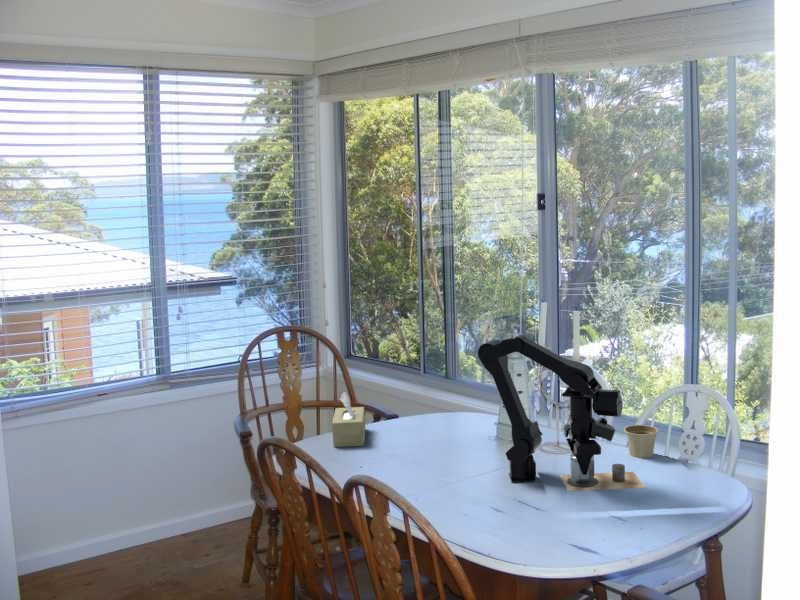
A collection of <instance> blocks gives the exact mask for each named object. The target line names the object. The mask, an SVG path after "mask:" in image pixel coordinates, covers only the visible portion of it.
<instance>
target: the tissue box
mask: <svg viewBox="0 0 800 600" xmlns="http://www.w3.org/2000/svg"><path fill="white" fill-rule="evenodd" d="M339 401H341V403H342V404H343V406H344V407H336V408H335V410H334V414H333V418H332V423H331V426H332V427H331V428H332V441H333V442H332V444H333V448H341V447H343V448H344V447H345V448H346V447H360V446H361V447H362V446H365V437H366V418H365V417H366V416H365V415H366V414H365V413H366V412H365V407H364V406H355V407H354V406H352V405H351V399H350V397H349V395H348V393H347V392H346V391H343V392H342V394H341V395H340V398H339Z"/></svg>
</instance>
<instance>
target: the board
mask: <svg viewBox="0 0 800 600" xmlns="http://www.w3.org/2000/svg"><path fill="white" fill-rule="evenodd" d="M611 466H612V467H611V470H612V471H611V472H597V473H595V472H594V477H592V478H590V479H577V478H573V477H572V476H571V474H559V477H560V478H561V481H562V482H563V484H564V486H565V488H566V489H567V492H577V491H579V492H580V491H600V490H602V491H603V490H604V491H605V490H622V489H623V490H624V489H643V488H644V489H645V488H646V486H645V484H644V483H643V482H642V481H641V479H640V478H639V477H638V475H636V473H635V472H634V471H626V469H625V467H626V466H625V464H621V463H613V464H612V465H611Z"/></svg>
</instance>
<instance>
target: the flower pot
mask: <svg viewBox="0 0 800 600" xmlns="http://www.w3.org/2000/svg"><path fill="white" fill-rule="evenodd" d="M623 431H624V432H625V435H626V436H625V437H626V438H627V444H628V451H629V456H631V457H633V458H638V459H648V458H652V457H653V456H654V455H653V454H654V448H655V442H656V438H657V434H658V433H659V429H658V428H657V427H655V426H651V425H646V424H645V425H644V424H634V425H633V424H632V425H627V426H625V427H624V429H623Z"/></svg>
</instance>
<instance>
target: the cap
mask: <svg viewBox="0 0 800 600" xmlns="http://www.w3.org/2000/svg"><path fill="white" fill-rule="evenodd" d="M594 457H595V455H594V456H592V458H591V461H590V464H589V468H588V472H587V474H586V475H583V474H582V472H581V469H580V467H579V464H578V462H577V459H576V457H575V454H574V453H572V452H571V454H570V457H569V458H570V461H569V462H570V464H569V465H570V475H571V476H572V477H573V478H577V479H590V478H592V477H594V473H595V458H594Z"/></svg>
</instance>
